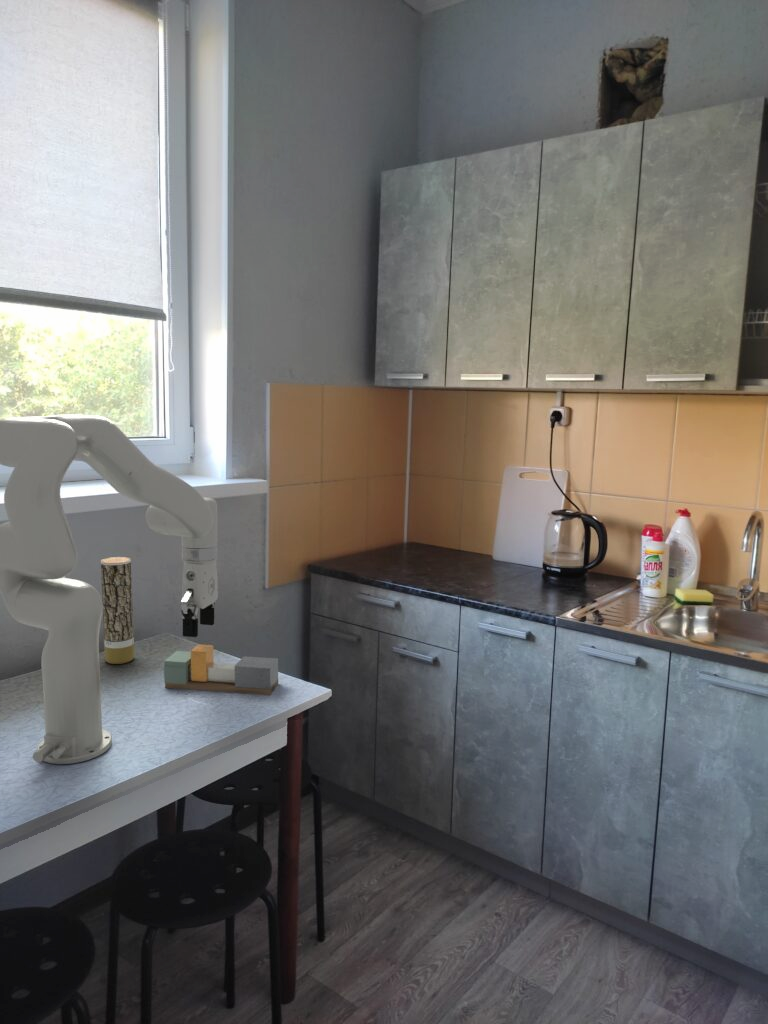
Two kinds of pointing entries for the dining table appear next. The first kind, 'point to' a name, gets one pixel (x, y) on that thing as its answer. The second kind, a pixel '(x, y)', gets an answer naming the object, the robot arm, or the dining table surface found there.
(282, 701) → the dining table surface
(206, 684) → the board
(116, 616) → the brown bark cylinder
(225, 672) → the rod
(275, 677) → the sleeve
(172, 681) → the socket
